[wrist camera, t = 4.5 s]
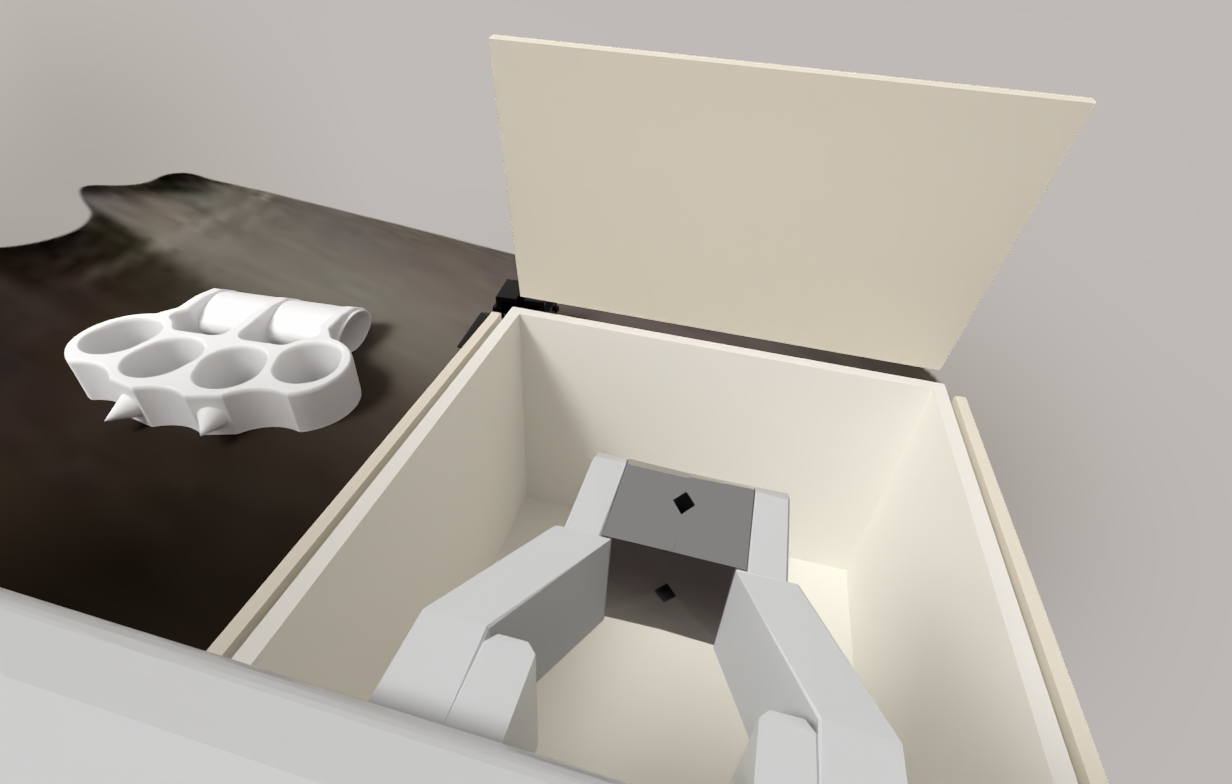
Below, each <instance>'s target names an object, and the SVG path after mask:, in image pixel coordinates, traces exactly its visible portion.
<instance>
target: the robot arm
mask: <svg viewBox="0 0 1232 784" xmlns="http://www.w3.org/2000/svg"><path fill="white" fill-rule="evenodd" d="M789 515H790V498H789V496H788V494H787V493H783V492H778V491H773V490H768V489H763V488H758V487H754V488H753V486H748V485H743V484H738V483H734V482H729V481H724V480H719V479H715V478H710V477H705V476H701V475H696V474H691V473H686V472H681V471H677V470H673V469H669V468H665V467H661V466H657V465H653V464H649V463H645V462H641V461H637V460H633V459H625V458H621V457H617V456H613V455H609V454H605V453H601V452H598V453H597V455H596V456H595V457H594V458H593V461H592V463H591V465H590V468H589V470H588V472H587V475H586V477H585V479H584V482H583V484H582V487H581V489H580V491H579V494H578V496H577V498H576V501H575V503H574V506H573V508H572V510H571V513H570V515H569V517H568V520H567V522H566V524H565V527H561V526H556V525H555V526H553V527H552V528H550V529H548V530H547V531H545V532H544V533H542V534H541V535H539V536H537V537H536V538H534V539H533V540H531V541H529V542H528V543H526V544H525V545H523V546H522V547H520V548H518V549H517V550H515V551H514V552H512V553H511V554H509V555H507V556H506V557H504V558H503V559H501V560H499V561H498V562H496V563H495V564H493V565H492V566H490V567H488V568H487V569H485V570H484V571H482V572H480V573H479V574H477V575H476V576H474V577H473V578H471V579H469V580H468V581H466V582H465V583H463V584H462V585H460V586H458V587H457V588H455V589H454V590H452V591H450V592H449V593H447V594H446V595H444V596H443V597H441V598H439V599H438V600H436V601H435V602H433V603H432V604H430V605H428V606H427V607H425V608H424V609H422V611H421V613H420V614H419V616H418V618H417V620H416V621H415V623H414V625H413V626H412V628H411V630H410V631H409V633H408V635H407V636H406V638H405V640H404V642H403V643H402V645H401V647H400V648H399V650H398V652H397V653H396V655H395V657H394V658H393V660H392V662H391V664H390V665H389V667H388V669H387V670H386V672H385V674H384V675H383V677H382V679H381V680H380V682H379V684H378V686H377V687H376V689H375V691H374V692H373V694H372V696H371V697H370V699H369V701H365V700H362V699H358V698H355V697H352V696H349V695H345V694H342V693H339V692H336V691H333V690H329V689H326V688H323V687H320V686H316V685H313V684H310V683H307V682H304V681H300V680H297V679H294V678H291V677H287V676H284V675H281V674H278V673H275V672H271V671H268V670H265V669H262V668H259V667H255V666H252V665H249V664H246V663H242V662H239V661H236V660H233V659H230V658H226V657H223V656H220V655H217V654H213V653H210V652H207V651H204V650H201V649H197V648H194V647H191V646H188V645H184V644H181V643H178V642H175V641H172V640H168V639H165V638H162V637H159V636H155V635H152V634H149V633H146V632H143V631H139V630H136V629H133V628H130V627H127V626H123V625H120V624H117V623H114V622H110V621H107V620H104V619H101V618H98V617H94V616H91V615H88V614H85V613H81V612H78V611H75V610H72V609H69V608H65V607H62V606H59V605H56V604H52V603H49V602H46V601H43V600H40V599H36V598H33V597H30V596H27V595H24V594H20V593H17V592H14V591H11V590H7V589H4V588H1V587H0V784H632V783H628V782H625V781H622V780H619V779H616V778H612V777H609V776H606V775H603V774H600V773H596V772H593V771H590V770H587V769H583V768H580V767H577V766H574V765H571V764H567V763H564V762H561V761H558V760H555V759H551V758H548V757H545V756H542V755H538V754H535V752H536V749H537V746H538V716H537V686H536V683H537V682H538V681H539V680H540V679H541V678H542V677H543V676H544V675H545V674H546V673H547V672H548V671H550V670H551V669H552V668H553V667H554V666H555V665H556V664H557V663H558V662H559V661H560V660H561V659H562V658H563V657H565V656H566V655H567V654H568V653H569V652H570V651H571V650H572V649H573V648H574V647H575V646H576V645H577V644H578V643H580V642H581V641H582V640H583V639H584V638H585V637H586V636H587V635H588V634H589V633H590V632H591V631H592V630H593V629H595V628H596V627H597V626H598V625H599V624H600V623H601V622H602V621H603V620H604V616H606V617H610V618H615V619H619V620H623V621H627V622H631V623H636V624H640V625H644V626H648V627H653V628H657V629H660V630H664V631H667V632H671V633H674V634H677V635H681V636H684V637H688V638H691V639H694V640H698V641H701V642H705V643H708V644H711V645H714V647H713V648H714V651H715V654H716V656H717V659H718V661H719V664H720V666H721V669H722V671H723V674H724V676H725V679H726V681H727V684H728V686H729V689H730V692H731V694H732V697H733V699H734V702H735V704H736V707H737V709H738V712H739V714H740V717H741V719H742V722H743V724H744V727H745V729H746V732H747V735H748V737H749V741H748V744H747V746H746V748H745V750H744V753H743V755H742V757H741V759H740V762H739V764H738V766H737V768H736V771H735V773H734V775H733V777H732V780H731V782H730V784H907V776H906V768H905V759H904V751H903V744H902V743H901V741H900V740H899V738H898V736H897V735H896V733H895V732H894V730H893V729H892V727H891V726H890V724H889V723H888V721H887V720H886V718H885V717H884V715H883V713H882V712H881V710H880V709H879V707H878V706H877V704H876V703H875V701H874V700H873V698H872V697H871V695H870V694H869V692H868V690H867V689H866V687H865V686H864V684H863V683H862V681H861V680H860V678H859V677H858V675H857V674H856V672H855V671H854V669H853V668H852V666H851V664H850V663H849V661H848V660H847V658H846V657H845V655H844V654H843V652H842V651H841V649H840V648H839V646H838V645H837V643H836V641H835V640H834V638H833V637H832V635H831V634H830V632H829V631H828V629H827V628H826V626H825V625H824V623H823V622H822V620H821V618H820V617H819V615H818V614H817V612H816V611H815V609H814V608H813V606H812V605H811V603H810V602H809V600H808V599H807V597H806V596H805V594H804V592H803V591H802V589H801V588H800V586H799V585H798V584H794V583H790V582H788V558H789ZM659 625H660V626H659Z"/></svg>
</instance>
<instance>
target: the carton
mask: <svg viewBox="0 0 1232 784" xmlns="http://www.w3.org/2000/svg"><path fill="white" fill-rule="evenodd" d="M598 452H601V453H605V454H609V455H613V456H617V457H621V458H625V459H633V460H637V461H641V462H645V463H649V464H653V465H657V466H661V467H665V468H669V469H673V470H677V471H681V472H686V473H691V474H696V475H701V476H705V477H710V478H715V479H719V480H724V481H729V482H734V483H738V484H743V485H748V486H753V488H754V487H758V488H763V489H768V490H773V491H778V492H783V493H787V494H788V496H789V498H790V515H789V558H788V582H790V583H794V584H798V585H799V586H800V588H801V589H802V591H803V592H804V594H805V596H806V597H807V599H808V600H809V602H810V603H811V605H812V606H813V608H814V609H815V611H816V612H817V614H818V615H819V617H820V618H821V620H822V622H823V623H824V625H825V626H826V628H827V629H828V631H829V632H830V634H831V635H832V637H833V638H834V640H835V641H836V643H837V645H838V646H839V648H840V649H841V651H842V652H843V654H844V655H845V657H846V658H847V660H848V661H849V663H850V664H851V666H852V668H853V669H854V671H855V672H856V674H857V675H858V677H859V678H860V680H861V681H862V683H863V684H864V686H865V687H866V689H867V690H868V692H869V694H870V695H871V697H872V698H873V700H874V701H875V703H876V704H877V706H878V707H879V709H880V710H881V712H882V713H883V715H884V717H885V718H886V720H887V721H888V723H889V724H890V726H891V727H892V729H893V730H894V732H895V733H896V735H897V736H898V738H899V740H900V741H901V743H902V744H903V751H904V759H905V768H906V776H907V784H1110V783H1109V781H1108V778H1107V775H1106V773H1105V770H1104V767H1103V765H1102V762H1101V759H1100V757H1099V754H1098V751H1097V749H1096V746H1095V743H1094V740H1093V738H1092V735H1091V732H1090V730H1089V727H1088V724H1087V722H1086V719H1085V716H1084V714H1083V711H1082V708H1081V705H1080V703H1079V700H1078V698H1077V695H1076V692H1075V689H1074V687H1073V684H1072V681H1071V679H1070V676H1069V673H1068V671H1067V668H1066V665H1065V663H1064V660H1063V657H1062V654H1061V652H1060V649H1059V646H1058V644H1057V641H1056V638H1055V636H1054V633H1053V630H1052V628H1051V625H1050V623H1049V620H1048V617H1047V614H1046V612H1045V609H1044V606H1043V604H1042V601H1041V598H1040V595H1039V593H1038V590H1037V587H1036V585H1035V582H1034V579H1033V577H1032V574H1031V572H1030V569H1029V566H1028V563H1027V561H1026V558H1025V555H1024V552H1023V550H1022V547H1021V544H1020V542H1019V539H1018V537H1017V534H1016V531H1015V528H1014V526H1013V523H1012V520H1011V518H1010V515H1009V512H1008V509H1007V507H1006V504H1005V501H1004V499H1003V496H1002V493H1001V491H1000V488H999V485H998V483H997V480H996V477H995V475H994V472H993V470H992V467H991V464H990V461H989V459H988V456H987V453H986V450H985V448H984V445H983V442H982V440H981V437H980V434H979V432H978V429H977V426H976V424H975V421H974V418H973V415H972V413H971V410H970V407H969V405H968V402H967V400H966V398H965V397H959V396H954V398H953V400H952V402H950V399H949V396H948V393H947V390H946V387H945V384H941V383H936V382H930V381H925V380H919V379H914V378H908V377H902V376H897V375H891V374H886V373H880V372H875V371H869V370H864V369H858V368H852V367H847V366H841V365H836V364H830V363H825V362H819V361H813V360H808V359H802V358H797V357H791V356H786V355H780V354H775V353H769V352H763V351H758V350H752V349H747V348H741V347H736V346H730V345H724V344H719V343H713V342H708V341H702V340H697V339H691V338H686V337H680V336H674V335H669V334H663V333H658V332H652V331H647V330H641V329H635V328H630V327H624V326H619V325H613V324H608V323H602V322H597V321H591V320H585V319H580V318H574V317H569V316H563V315H558V314H552V313H546V312H541V311H535V310H530V309H524V308H519V307H512V308H511V309H510V310H509V312H508V313H507V314H506V315H505V317H504V318H503V319H502V318H501V313H498V312H493V311H492V313H491V314H490V315H489V316H488V317H487V319H486V320H485V321H484V322H483V323H482V324H481V326H480V327H479V328H478V329H477V330H476V332H475V333H474V334H473V335H472V336H471V337H470V339H469V340H468V341H467V342H466V343H465V345H464V346H463V347H462V348H461V349H460V351H459V352H458V353H457V354H456V355H455V356H454V358H453V359H452V360H451V361H450V362H449V364H448V365H447V366H446V367H445V368H444V369H443V371H442V372H441V373H440V374H439V375H438V377H437V378H436V379H435V380H434V381H433V383H432V384H431V385H430V386H429V387H428V388H427V390H426V391H425V392H424V393H423V394H422V396H421V397H420V398H419V399H418V400H417V402H416V403H415V404H414V405H413V406H412V407H411V409H410V410H409V411H408V412H407V413H406V415H405V416H404V417H403V418H402V419H401V420H400V422H399V423H398V424H397V425H396V426H395V428H394V429H393V430H392V431H391V432H390V434H389V435H388V436H387V437H386V438H385V439H384V441H383V442H382V443H381V444H380V445H379V447H378V448H377V449H376V450H375V451H374V452H373V454H372V455H371V456H370V457H369V458H368V460H367V461H366V462H365V463H364V464H363V466H362V467H361V468H360V469H359V470H358V471H357V473H356V474H355V475H354V476H353V477H352V479H351V480H350V481H349V482H348V483H347V484H346V486H345V487H344V488H343V489H342V490H341V492H340V493H339V494H338V495H337V496H336V498H335V499H334V500H333V501H332V502H331V503H330V505H329V506H328V507H327V508H326V509H325V511H324V512H323V513H322V514H321V515H320V516H319V518H318V519H317V520H316V521H315V522H314V524H313V525H312V526H311V527H310V528H309V530H308V531H307V532H306V533H305V534H304V535H303V537H302V538H301V539H300V540H299V541H298V543H297V544H296V545H295V546H294V547H293V549H292V550H291V551H290V552H289V553H288V554H287V556H286V557H285V558H284V559H283V560H282V562H281V563H280V564H279V565H278V566H277V567H276V569H275V570H274V571H273V572H272V573H271V575H270V576H269V577H268V578H267V579H266V581H265V582H264V583H263V584H262V585H261V586H260V588H259V589H258V590H257V591H256V592H255V594H254V595H253V596H252V597H251V598H250V599H249V601H248V602H247V603H246V604H245V605H244V607H243V608H242V609H241V610H240V611H239V613H238V614H237V615H236V616H235V617H234V618H233V620H232V621H231V622H230V623H229V624H228V626H227V627H226V628H225V629H224V630H223V631H222V633H221V634H220V635H219V636H218V637H217V639H216V640H215V641H214V642H213V643H212V645H211V646H210V647H209V648H208V649H207V650H206V651H207V652H210V653H213V654H217V655H220V656H223V657H226V658H230V659H233V660H236V661H239V662H242V663H246V664H249V665H252V666H255V667H259V668H262V669H265V670H268V671H271V672H275V673H278V674H281V675H284V676H287V677H291V678H294V679H297V680H300V681H304V682H307V683H310V684H313V685H316V686H320V687H323V688H326V689H329V690H333V691H336V692H339V693H342V694H345V695H349V696H352V697H355V698H358V699H362V700H365V701H369V699H370V697H371V696H372V694H373V692H374V691H375V689H376V687H377V686H378V684H379V682H380V680H381V679H382V677H383V675H384V674H385V672H386V670H387V669H388V667H389V665H390V664H391V662H392V660H393V658H394V657H395V655H396V653H397V652H398V650H399V648H400V647H401V645H402V643H403V642H404V640H405V638H406V636H407V635H408V633H409V631H410V630H411V628H412V626H413V625H414V623H415V621H416V620H417V618H418V616H419V614H420V613H421V611H422V609H424V608H425V607H427V606H428V605H430V604H432V603H433V602H435V601H436V600H438V599H439V598H441V597H443V596H444V595H446V594H447V593H449V592H450V591H452V590H454V589H455V588H457V587H458V586H460V585H462V584H463V583H465V582H466V581H468V580H469V579H471V578H473V577H474V576H476V575H477V574H479V573H480V572H482V571H484V570H485V569H487V568H488V567H490V566H492V565H493V564H495V563H496V562H498V561H499V560H501V559H503V558H504V557H506V556H507V555H509V554H511V553H512V552H514V551H515V550H517V549H518V548H520V547H522V546H523V545H525V544H526V543H528V542H529V541H531V540H533V539H534V538H536V537H537V536H539V535H541V534H542V533H544V532H545V531H547V530H548V529H550V528H552V527H553V526H555V525H556V526H561V527H565V524H566V522H567V520H568V517H569V515H570V513H571V510H572V508H573V506H574V503H575V501H576V498H577V496H578V494H579V491H580V489H581V487H582V484H583V482H584V479H585V477H586V475H587V472H588V470H589V468H590V465H591V463H592V461H593V458H594V457H595V456H596V455H597V453H598ZM659 626H660V625H659ZM713 647H714V645H711V644H708V643H705V642H701V641H698V640H694V639H691V638H688V637H684V636H681V635H677V634H674V633H671V632H667V631H664V630H660V629H657V628H653V627H648V626H644V625H640V624H636V623H631V622H627V621H623V620H619V619H615V618H610V617H606V616H604V620H603V621H602V622H601V623H600V624H599V625H598V626H597V627H596V628H595V629H593V630H592V631H591V632H590V633H589V634H588V635H587V636H586V637H585V638H584V639H583V640H582V641H581V642H580V643H578V644H577V645H576V646H575V647H574V648H573V649H572V650H571V651H570V652H569V653H568V654H567V655H566V656H565V657H563V658H562V659H561V660H560V661H559V662H558V663H557V664H556V665H555V666H554V667H553V668H552V669H551V670H550V671H548V672H547V673H546V674H545V675H544V676H543V677H542V678H541V679H540V680H539V681H538V682H537V683H536V686H537V716H538V746H537V749H536V752H535V754H538V755H542V756H545V757H548V758H551V759H555V760H558V761H561V762H564V763H567V764H571V765H574V766H577V767H580V768H583V769H587V770H590V771H593V772H596V773H600V774H603V775H606V776H609V777H612V778H616V779H619V780H622V781H625V782H628V783H632V784H730V782H731V780H732V777H733V775H734V773H735V771H736V768H737V766H738V764H739V762H740V759H741V757H742V755H743V753H744V750H745V748H746V746H747V744H748V741H749V737H748V735H747V732H746V729H745V727H744V724H743V722H742V719H741V717H740V714H739V712H738V709H737V707H736V704H735V702H734V699H733V697H732V694H731V692H730V689H729V686H728V684H727V681H726V679H725V676H724V674H723V671H722V669H721V666H720V664H719V661H718V659H717V656H716V654H715V651H714V648H713Z"/></svg>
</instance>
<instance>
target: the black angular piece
mask: <svg viewBox="0 0 1232 784" xmlns="http://www.w3.org/2000/svg"><path fill="white" fill-rule="evenodd" d="M512 307H519V308H524V309H530V310H535V311H541V312H546V313H552V314H557V312H558V311H559V306H557V303H555V302H549V301H543V300H538V299H532V298H526V297H521V296H520V290H519V281H517V280H509V279H507V281H506V282H505V284H504V285H503V287H502V288H501V290H500V291H499V293H498V294H497V296H496V303H495V305H494V306H493V312H498V313H501V318H502V319H503V318H504V317H505V315H506V314H507V313H508V312H509V310H510V309H511V308H512ZM490 314H491V313H480V315H479V316H478V318H477V319H476V321H475V322H474V323H473V325H472V326H471V328H470V329H469V331H468V332H467V333H466V335H465V336H464V338H463V339H462V341H461V342H460V343H459V345H458V346H457V347H458V348H462V347H463V346H464V345H465V343H466V342H467V341H468V340H469V339H470V337H471V336H472V335H473V334H474V333H475V332H476V330H477V329H478V328H479V327H480V326H481V324H482V323H483V322H484V321H485V320H486V319H487V317H488V316H489V315H490Z"/></svg>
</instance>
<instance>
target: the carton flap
mask: <svg viewBox="0 0 1232 784" xmlns="http://www.w3.org/2000/svg"><path fill="white" fill-rule="evenodd" d="M488 40H489V48H490V57H491V64H492V73H493V81H494V89H495V97H496V104H497V113H498V120H499V129H500V137H501V145H502V153H503V161H504V169H505V177H506V185H507V193H508V200H509V209H510V217H511V225H512V233H513V241H514V249H515V257H516V265H517V273H518V281H519V290H520V296H521V297H526V298H532V299H538V300H543V301H549V302H555V303H560V304H566V305H572V306H577V307H583V308H589V309H594V310H600V311H606V312H611V313H617V314H623V315H628V316H634V317H640V318H645V319H651V320H657V321H662V322H668V323H674V324H679V325H685V326H691V327H696V328H702V329H708V330H713V331H719V332H725V333H730V334H736V335H742V336H747V337H753V338H758V339H764V340H770V341H775V342H781V343H787V344H792V345H798V346H804V347H809V348H815V349H821V350H826V351H832V352H838V353H843V354H849V355H855V356H860V357H866V358H872V359H877V360H883V361H889V362H894V363H900V364H906V365H911V366H917V367H923V368H928V369H934V370H940V369H941V367H942V366H943V364H944V363H945V361H946V359H947V357H948V356H949V354H950V352H951V351H952V349H953V347H954V346H955V344H956V342H957V341H958V339H959V337H960V335H961V334H962V332H963V330H964V329H965V327H966V325H967V324H968V322H969V320H970V318H971V317H972V315H973V313H974V312H975V310H976V308H977V306H978V305H979V303H980V301H981V300H982V298H983V296H984V295H985V293H986V291H987V289H988V288H989V286H990V284H991V282H992V281H993V279H994V277H995V276H996V274H997V272H998V271H999V269H1000V267H1001V266H1002V264H1003V262H1004V260H1005V259H1006V257H1007V255H1008V254H1009V252H1010V250H1011V249H1012V247H1013V245H1014V244H1015V242H1016V240H1017V238H1018V237H1019V235H1020V233H1021V232H1022V230H1023V228H1024V227H1025V225H1026V223H1027V221H1028V220H1029V218H1030V216H1031V214H1032V213H1033V211H1034V209H1035V208H1036V206H1037V204H1038V203H1039V201H1040V199H1041V198H1042V196H1043V194H1044V192H1045V191H1046V189H1047V187H1048V186H1049V184H1050V182H1051V181H1052V179H1053V177H1054V175H1055V174H1056V172H1057V170H1058V169H1059V167H1060V165H1061V164H1062V162H1063V160H1064V158H1065V157H1066V155H1067V153H1068V152H1069V150H1070V148H1071V147H1072V145H1073V143H1074V141H1075V140H1076V138H1077V136H1078V134H1079V133H1080V131H1081V130H1082V128H1083V126H1084V124H1085V123H1086V121H1087V119H1088V117H1089V116H1090V114H1091V112H1092V111H1093V109H1094V107H1095V106H1096V102H1095V101H1094V99H1093V98H1089V97H1080V96H1070V95H1061V94H1051V93H1042V92H1032V91H1022V90H1014V89H1004V88H994V87H985V86H976V85H966V84H957V83H947V82H938V81H929V80H919V79H909V78H900V77H891V76H881V75H871V74H862V73H853V72H844V71H834V70H824V69H814V68H806V67H796V66H787V65H777V64H768V63H759V62H749V61H740V60H730V59H721V58H711V57H702V56H692V55H683V54H674V53H663V52H655V51H645V50H636V49H635V50H634V49H626V48H617V47H607V46H598V45H588V44H579V43H570V42H560V41H551V40H541V39H531V38H523V37H512V36H503V35H494V34H493V35H492V36H491V37H489V38H488Z"/></svg>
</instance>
